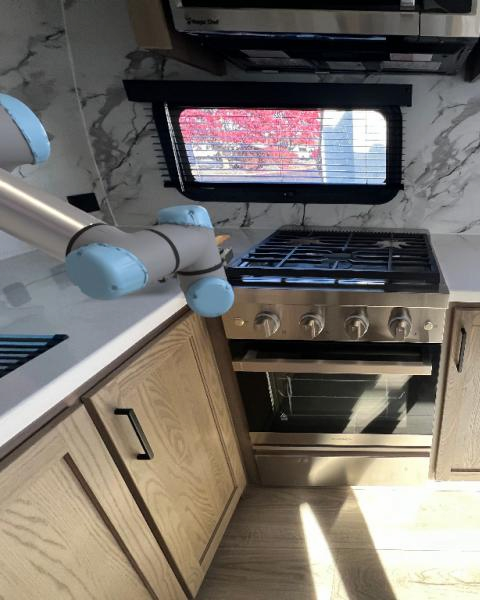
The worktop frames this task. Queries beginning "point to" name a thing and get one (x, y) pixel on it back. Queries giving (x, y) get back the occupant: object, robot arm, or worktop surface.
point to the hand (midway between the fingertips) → (183, 253)
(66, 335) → the worktop surface
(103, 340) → the worktop surface
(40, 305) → the worktop surface
